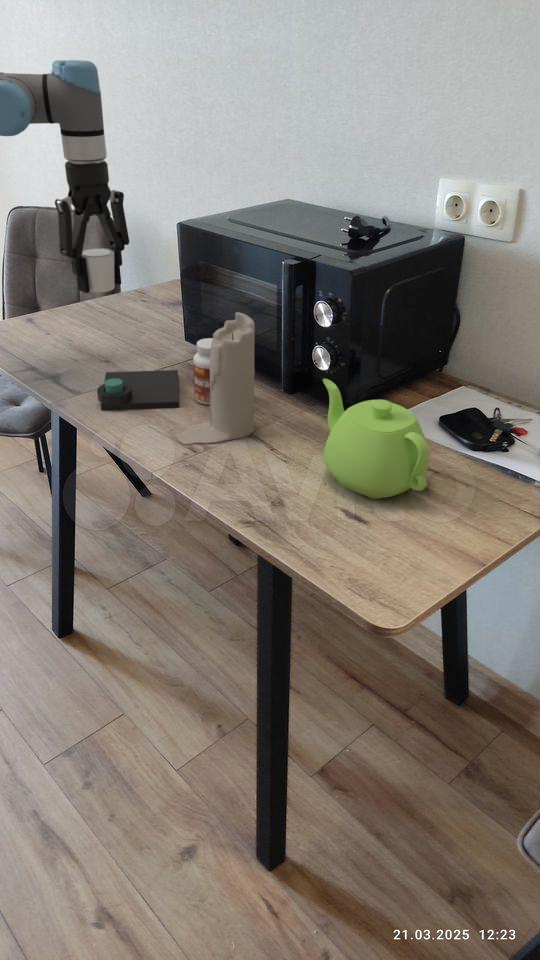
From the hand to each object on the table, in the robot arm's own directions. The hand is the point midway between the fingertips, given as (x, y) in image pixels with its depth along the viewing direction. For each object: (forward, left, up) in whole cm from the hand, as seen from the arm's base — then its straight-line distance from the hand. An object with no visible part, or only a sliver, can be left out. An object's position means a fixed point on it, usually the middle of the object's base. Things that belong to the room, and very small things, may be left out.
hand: (100, 286), depth 139 cm
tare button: (+3, -21, -12) cm, 25 cm away
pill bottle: (+20, -21, -15) cm, 33 cm away
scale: (+7, -17, -15) cm, 24 cm away
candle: (+20, -34, -15) cm, 42 cm away
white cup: (0, 0, -1) cm, 1 cm away
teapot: (+43, -50, -15) cm, 68 cm away
